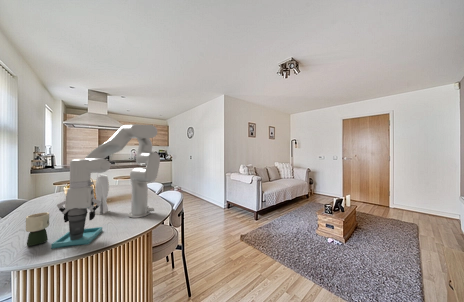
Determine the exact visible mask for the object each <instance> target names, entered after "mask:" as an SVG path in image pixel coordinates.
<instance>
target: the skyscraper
mask: <svg viewBox="0 0 464 302" xmlns="http://www.w3.org/2000/svg"><path fill="white" fill-rule="evenodd" d="M95 180H96V181H95V187H94V189H95V191H94V194H95V199H97V200H99V201H101V202H102V203H101V204H100V206H99V207H98V208H97V209H96V210H95V216H97V215H98V216H104V215H105V213H106V214H108V213H109V212H111V210H109V206H108V203H107V199H108V195H109V190H110V186H109V185H110V184H109V178H108V174H106V175H105V174H104V173H103V174H102V173H101V174H99V173H96V179H95Z"/></svg>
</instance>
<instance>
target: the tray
mask: <svg viewBox="0 0 464 302" xmlns="http://www.w3.org/2000/svg"><path fill="white" fill-rule="evenodd" d="M101 233H103V226H100V227H99V226H97V227H89V228H88V227H87V228H84V233H83V237H82V238H80V239H77V240H70V233H69V231H67V232H66V233H65V234H63V235H62V236H60V237H59V238H58V239H56V240H55V241H54V242H52V243H50V245H51V246H50V248H51V249H60V248H69V247H75V246H76V247H77V246H86V245H90V244H91V243H92V242H93V241H94V240H95V239H96V238H97V237H98V236H99V235H100V234H101Z"/></svg>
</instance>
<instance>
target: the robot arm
mask: <svg viewBox="0 0 464 302" xmlns="http://www.w3.org/2000/svg"><path fill="white" fill-rule="evenodd" d="M156 136H158V128H157V127H156V126H155V125H153V124H140V123H139V124H138V123H135V124H124V125H122V126H120V127H119V129H118V130H117V131H116V132H115V133H114V134H113V135H112V136H111V137H110V138H109V139H108V140H107V141H105V142H104V143H102V144H100V145H98V146H97V147H95V148H94V149H93V150H91V152H89V153H88V154H87V156H86V157H85V158H76V159H71V161H69V187H68V188H67V191H66V194H65V199H64V200H65V201H64V200H63V201H62V202H59V203H57V204H56V207H57V209H58V211H59V212H61V214H62V215H63V221H64V223H69V220H68V216H67V215H68V212H69V210H70V209H73V208H79V209H86V208H87V210H89V214H88V215H89V218H88V220H89V221H92V220H94V219H95V217H96V215H95V210H96V209H97V208H98V207H99V206H100V204H101V203H102V202H101V201H99V200H97V199H96V197H95V191H94V187H93V185H94V184H95V182H94V181H92V180H91V174H93V173H96V174H97V173H98V174H102V173H103V174H104V173H106V172H107V171H109V170H110V168H111V162H110V161H109V160H108V159H106V158H107V157H109V156H111V155H113V154H116V153H120V152H121V151H123V150H124V148H125V147H126V146H127V145H128V143H129V142H130V141H131V140H132V139H136V140H137V142H138V149H137V153H136V159H135V163H136V164H137V165H139V166H141V167H134V168H133V169H131V171H130V173H129V174H130V175H129V179H130V184H131V201H130V202H131V208H130V210H131V211H130V212H129V214H128V217H129V218H132V219H136V218H144V217H146V216H148V215H150V214H151V212H155V207H149V205H148V195H149V194H148V193H149V191H148V189H149V187H148V183H153V182H155V181H156V180H157V178H158V174H159V168H160V163H161V162H160V161H161V158H160V154H159V153H157V152H156V151H153V142H152V141H151V139H152V138H156ZM142 166H145V167H142ZM94 205H95V206H94Z"/></svg>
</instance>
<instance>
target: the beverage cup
mask: <svg viewBox="0 0 464 302" xmlns="http://www.w3.org/2000/svg"><path fill="white" fill-rule="evenodd" d="M67 216H68V220H69V221H68V232H69V233H70V240H77V239H80V238H82V237H83V233H84V229H85V225H86V218H87V216H88V208H86V209H79V208H73V209H70V210H69V212H68V215H67Z"/></svg>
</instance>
